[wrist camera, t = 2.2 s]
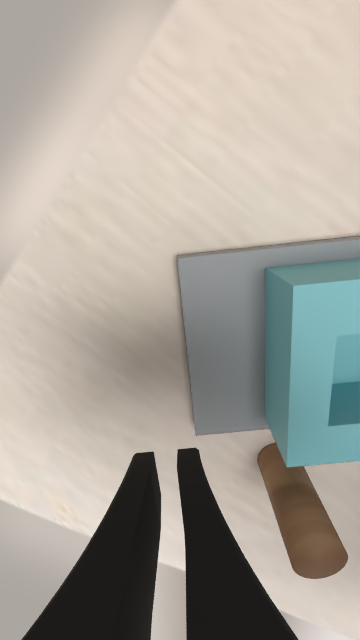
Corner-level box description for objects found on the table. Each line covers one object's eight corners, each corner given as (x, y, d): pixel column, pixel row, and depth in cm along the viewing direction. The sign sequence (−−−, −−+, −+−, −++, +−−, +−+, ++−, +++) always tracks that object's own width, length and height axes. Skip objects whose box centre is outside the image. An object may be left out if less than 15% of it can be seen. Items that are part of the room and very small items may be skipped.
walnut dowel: (296, 471, 23) (344, 576, 16) (257, 474, 23) (290, 580, 16) (297, 440, 22) (350, 540, 15) (257, 444, 22) (292, 545, 15)
